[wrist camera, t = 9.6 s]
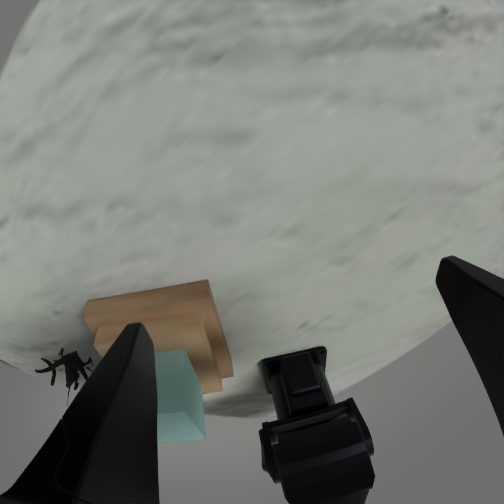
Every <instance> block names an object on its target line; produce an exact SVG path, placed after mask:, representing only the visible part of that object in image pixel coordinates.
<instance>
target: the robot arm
mask: <svg viewBox="0 0 504 504" xmlns="http://www.w3.org/2000/svg"><path fill="white" fill-rule="evenodd" d="M436 285H437V288H438V290H439V292H440V294H441V296H442V298H443V300H444V303H445V305H446V307H447V309H448V312H449V314H450V316H451V319H452V321H453V323H454V325H455V327H456V329H457V331H458V333H459V335H460V336H461V338H462V340H463V342H464V344H465V346H466V348H467V350H468V352H469V354H470V356H471V358H472V360H473V362H474V364H475V367H476V369H477V371H478V373H479V375H480V377H481V380H482V382H483V384H484V387H485V389H486V391H487V394H488V396H489V398H490V401H491V403H492V406H493V408H494V411H495V413H496V416H497V419H498V421H499V423H500V427H501V430H502V433H503V436H504V279H502V278H500V277H498V276H496V275H494V274H492V273H490V272H488V271H486V270H484V269H482V268H479V267H477V266H475V265H473V264H471V263H469V262H466V261H464V260H462V259H460V258H457V257H455V256H448V257H444V258H442V260H441V261H440V265H439V268H438V272H437V275H436ZM326 356H327V350H326V347H323V346H322V347H318V348H314V349H310V350H305V351H301V352H297V353H292V354H288V355H283V356H279V357H274V358H269V359H265V360H263V361H262V368H263V373H264V379H265V384H266V389H267V393H268V394H272V396H273V401H274V405H275V409H276V414H277V418H278V420H276V421H272V422H264V423H262V427H263V428H262V429H261V430H259V436H260V441H261V451H262V468H263V470H264V471H266V472H267V473H269V474H270V476H271V478H272V479H273V481H274V483H275V484H276V483H281V484H282V488H283V492H284V496H285V499H286V500H287V501H288V503H289V504H364V503H365V500H366V497H367V495H368V492H369V489H371V488H372V487H373V483H374V478H375V474H374V470H373V467H372V463H371V459H370V456H372V455H373V454H374V448H373V442H372V438H371V435H370V432H369V429H368V427H367V425H366V423H365V421H364V419H363V417H362V415H361V413H360V412H359V410H358V408H357V406H356V404H355V402H354V400H353V398H352V397H351V398H348V399H347V400H345V401H342V402H339V403H337V404H336V403H335V400H334V398H333V395H332V392H331V389H330V386H329V384H328V381H327V378H326V375H325V366H326ZM157 414H158V394H157V381H156V369H155V354H154V345H153V341H152V339H151V337H150V336H149V334H148V332H147V330H146V328H145V326H144V324H143V323H142V322H134V323H129V324H127V325H126V326H125V328H124V329H123V330H122V332H121V333H120V334H119V336H118V337H117V338H116V340H115V341H114V343H113V344H112V345H111V347H110V348H109V349H108V351H107V352H106V354H105V355H104V356H103V358H102V359H101V361H100V362H99V363H98V365H97V366H96V368H95V369H94V371H93V372H92V373H91V375H90V376H89V378H88V379H87V381H86V382H85V384H84V385H83V386H82V388H81V389H80V391H79V392H78V394H77V396H76V397H75V398H74V400H73V401H72V403H71V404H70V406H69V407H68V409H67V410H66V412H65V413H64V415H63V416H62V418H63V419H60V421H59V423H58V424H57V425H56V427H55V429H54V430H53V431H52V433H51V434H50V436H49V437H48V439H47V440H46V442H45V443H44V445H43V446H42V447H41V449H40V450H39V451H38V453H37V454H36V456H35V457H34V458H33V459H32V461H31V462H30V463H29V465H28V466H27V468H26V469H25V470H24V471H23V473H22V474H21V475H20V477H19V478H18V479H17V481H16V482H15V483H14V484H13V485H12V487H11V488H9V489H8V490H7V491H6V492H4V493H3V494H1V495H0V504H160V502H159V485H158V454H157V452H158V451H157ZM277 442H278V443H277Z"/></svg>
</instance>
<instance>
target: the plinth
mask: <svg viewBox="0 0 504 504" xmlns="http://www.w3.org/2000/svg"><path fill="white" fill-rule="evenodd" d="M82 319H83V320H84V322H85V323H86V325H87V327H88V328H89V330H90V331H91V333H92V334H93V336H94V337H95V341H94V345H93V346H94V347H95V349H96V350H97V352H98V353H99V354H100V356H101V357H102V358H103V356H104V355H105V354H106V352H107V351H108V349H109V348H110V347H111V345H112V344H113V343H114V341H115V340H116V338H117V337H118V336H119V334H120V333H121V332H122V330H123V329H124V328H125V326H126V325H127V324H129V323H134V322H142V323H143V324H144V326H145V328H146V330H147V332H148V334H149V336H150V337H151V339H152V341H153V345H154V353H157V352H165V351H173V350H180V349H185V351H186V353H187V355H188V357H189V360H190V362H191V364H192V366H193V368H194V370H195V372H196V374H197V376H198V378H199V381H200V383H201V385H202V394H206V393H213V392H220V391H223V390H222V381H221V378H227V377H233V376H234V375H233V368H232V361H231V357H230V354H229V350H228V347H227V344H226V340H225V337H224V334H223V330H222V327H221V324H220V320H219V317H218V313H217V310H216V307H215V303H214V300H213V296H212V293H211V289H210V285H209V282H208V280H203V281H197V282H192V283H186V284H181V285H175V286H170V287H164V288H158V289H153V290H147V291H141V292H136V293H130V294H124V295H118V296H112V297H106V298H101V299H95V300H89V301H88V303H87V305H86V308H85V311H84V314H83V317H82Z"/></svg>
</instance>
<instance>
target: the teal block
mask: <svg viewBox="0 0 504 504" xmlns="http://www.w3.org/2000/svg"><path fill="white" fill-rule="evenodd" d="M154 354H155V369H156V381H157V394H158V414H157V443H166V442H182V441H194V440H205V439H206V436H205V424H204V411H203V397H202V385H201V383H200V381H199V378H198V376H197V374H196V372H195V370H194V368H193V366H192V364H191V362H190V360H189V357H188V355H187V353H186V351H185V349H180V350H173V351H165V352H157V353H154Z"/></svg>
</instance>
